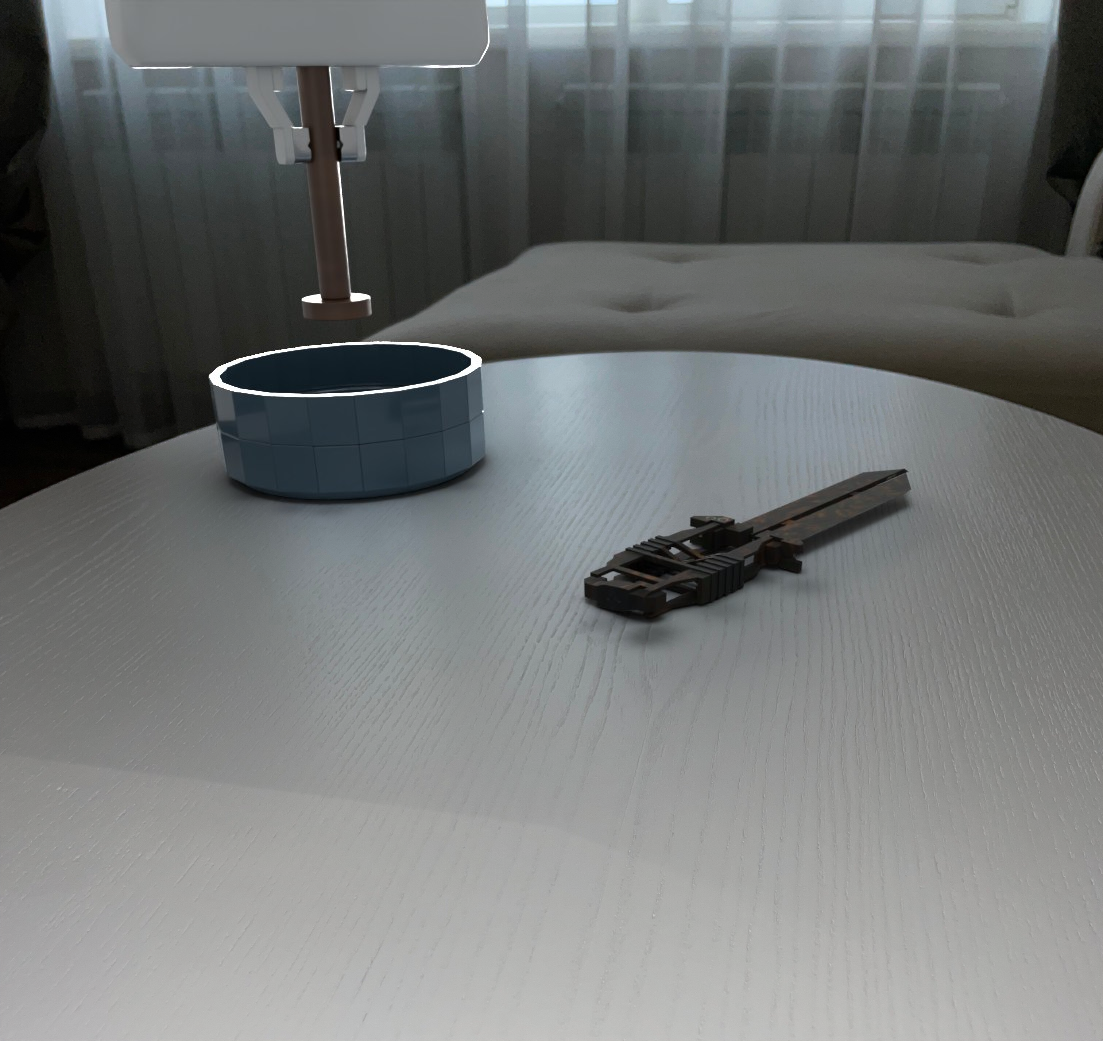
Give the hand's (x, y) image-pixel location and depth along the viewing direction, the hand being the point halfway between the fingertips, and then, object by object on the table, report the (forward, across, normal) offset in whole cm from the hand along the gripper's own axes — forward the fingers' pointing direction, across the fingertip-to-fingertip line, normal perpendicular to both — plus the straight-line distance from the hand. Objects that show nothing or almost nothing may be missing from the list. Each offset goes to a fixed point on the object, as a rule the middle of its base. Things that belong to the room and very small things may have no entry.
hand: (321, 162), depth 64 cm
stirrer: (+8, 0, 0) cm, 8 cm away
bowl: (+17, 0, 0) cm, 17 cm away
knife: (+17, -13, +26) cm, 33 cm away
